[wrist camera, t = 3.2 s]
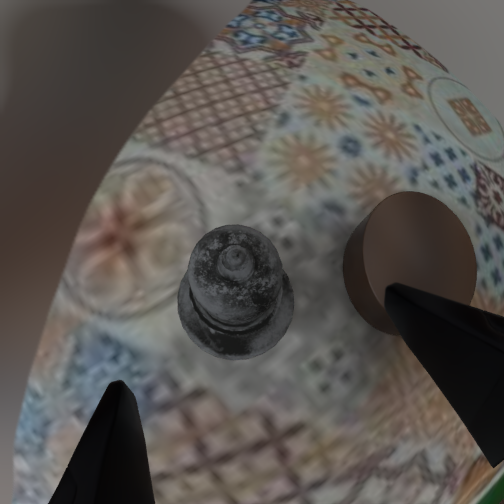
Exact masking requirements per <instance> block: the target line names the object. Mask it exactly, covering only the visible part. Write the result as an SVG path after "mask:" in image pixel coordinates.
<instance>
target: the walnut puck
mask: <svg viewBox="0 0 504 504" xmlns="http://www.w3.org/2000/svg"><path fill="white" fill-rule="evenodd" d="M343 273H344V280H345V285H346V288H347V292H348V294H349V297H350V299H351V301H352V303H353V305H354V306H355V308H356V310H357V311H358V312H359V314H360V315H361V316H362V317H363V318H364V319H365V320H366V321H367V322H368V323H369V324H370V325H372V326H373V327H375V328H376V329H378V330H380V331H382V332H384V333H387V334H391V335H395V336H401V335H400V333H399V332H398V330H397V328H396V327H395V325H394V323H393V322H392V320H391V319H390V317H389V315H388V314H387V312H386V310H385V308H384V297H385V288H386V286H388V285H390V284H392V283H394V282H398V283H401V284H404V285H407V286H411V287H414V288H417V289H420V290H423V291H426V292H429V293H432V294H435V295H438V296H442V297H445V298H448V299H451V300H454V301H457V302H460V303H463V304H466V305H470V303H471V300H472V298H473V295H474V291H475V287H476V280H477V265H476V257H475V253H474V249H473V245H472V242H471V240H470V237H469V235H468V233H467V231H466V229H465V227H464V226H463V224H462V223H461V221H460V220H459V218H458V217H457V216H456V215H455V214H454V213H453V211H452V210H450V209H449V208H448V207H447V206H446V205H445V204H443V203H442V202H441V201H439V200H437V199H436V198H434V197H432V196H429V195H427V194H424V193H420V192H413V191H408V192H400V193H396V194H393V195H391V196H389V197H387V198H385V199H384V200H383V201H382V202H380V203H379V204H378V205H377V206H376V207H375V208H374V209H373V211H372V212H371V213H370V214H369V215H368V216H367V217H366V218H365V219H364V220H363V221H362V222H361V223H360V224H359V225H358V226H357V227H356V229H355V230H354V231H353V233H352V234H351V236H350V238H349V240H348V243H347V246H346V249H345V253H344V261H343Z"/></svg>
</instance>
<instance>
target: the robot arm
mask: <svg viewBox="0 0 504 504" xmlns="http://www.w3.org/2000/svg"><path fill="white" fill-rule="evenodd" d="M384 308H385V310H386V312H387V314H388V315H389V317H390V319H391V320H392V322H393V323H394V325H395V327H396V328H397V330H398V332H399V333H400V335H401V336H402V338H403V340H404V341H405V343H406V344H407V346H408V347H409V348H410V350H411V351H412V352H413V354H414V355H415V356H416V358H417V359H418V360H419V362H420V363H421V364H422V366H423V367H424V368H425V370H426V371H427V372H428V374H429V375H430V376H431V378H432V379H433V380H434V382H435V383H436V385H437V386H438V387H439V389H440V390H441V391H442V393H443V394H444V396H445V397H446V398H447V400H448V401H449V403H450V404H451V406H452V407H453V408H454V410H455V411H456V413H457V414H458V416H459V417H460V419H461V420H462V421H463V423H464V424H465V426H466V427H467V429H468V431H469V432H470V434H471V435H472V437H473V438H474V440H475V441H476V443H477V444H478V446H479V447H480V449H481V450H482V452H483V454H484V455H485V457H486V458H487V460H488V461H489V463H490V465H491V466H492V467H493V468H494V467H496V466H497V465H498V464H499V463H501V462H502V461H503V460H504V317H503V316H500V315H496V314H493V313H490V312H487V311H483V310H481V309H478V308H475V307H472V306H469V305H466V304H463V303H460V302H457V301H454V300H451V299H448V298H445V297H442V296H438V295H435V294H432V293H429V292H426V291H423V290H420V289H417V288H414V287H411V286H407V285H404V284H401V283H398V282H394V283H392V284H390V285H388V286H386V288H385V297H384ZM48 504H155V500H154V494H153V489H152V483H151V477H150V471H149V464H148V457H147V450H146V443H145V438H144V433H143V429H142V425H141V420H140V416H139V411H138V406H137V401H136V398H135V396H134V394H133V393H132V391H131V390H130V389H129V388H128V386H127V385H126V384H125V383H124V382H123V381H122V380H118V381H114V382H111V383H110V384H109V385H108V387H107V389H106V391H105V393H104V394H103V396H102V398H101V400H100V402H99V404H98V406H97V408H96V410H95V412H94V413H93V415H92V417H91V419H90V421H89V423H88V425H87V427H86V429H85V431H84V433H83V435H82V437H81V439H80V441H79V443H78V445H77V447H76V449H75V451H74V453H73V455H72V458H71V460H70V462H69V464H68V467H67V468H66V470H65V472H64V474H63V476H62V478H61V480H60V482H59V485H58V487H57V488H56V490H55V492H54V494H53V496H52V498H51V499H50V501H49V503H48ZM499 504H504V499H503V500H502V501H501V502H500V503H499Z"/></svg>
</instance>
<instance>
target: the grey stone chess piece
mask: <svg viewBox="0 0 504 504" xmlns="http://www.w3.org/2000/svg"><path fill="white" fill-rule="evenodd" d="M293 309H294V297H293V289H292V286H291V284H290V281H289V278H288V276H287V274H286V273H285V272H284V270H283V269H282V263H281V260H280V257H279V255H278V252H277V250H276V248H275V247H274V245H273V244H272V243H271V241H270V240H269V239H268V238H267V237H266V236H264V235H263V234H262V233H261V232H259V231H257V230H255V229H253V228H251V227H247V226H243V225H225V226H222V227H218V228H215V229H214V230H212V231H210V232H209V233H207V234H205V235H204V236H203V238H202V239H201V240H200V241H199V242H198V243H197V244H196V246H195V248H194V250H193V252H192V254H191V257H190V261H189V265H188V270H187V272H186V274H185V275H184V277H183V279H182V281H181V284H180V288H179V292H178V313H179V316H180V320H181V323H182V326H183V328H184V329H185V331H186V333H187V334H188V336H189V337H190V339H191V340H192V341H193V342H194V343H195V344H197V345H198V346H199V347H200V348H201V349H202V350H204V351H206V352H208V353H210V354H212V355H214V356H216V357H220V358H224V359H229V360H241V359H249V358H252V357H255V356H258V355H261V354H263V353H265V352H266V351H268V350H269V349H271V348H272V347H273V346H275V345H276V344H277V343H278V341H279V340H280V339H281V338H282V337H283V336H284V334H285V333H286V331H287V329H288V327H289V324H290V322H291V320H292V315H293Z"/></svg>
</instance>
